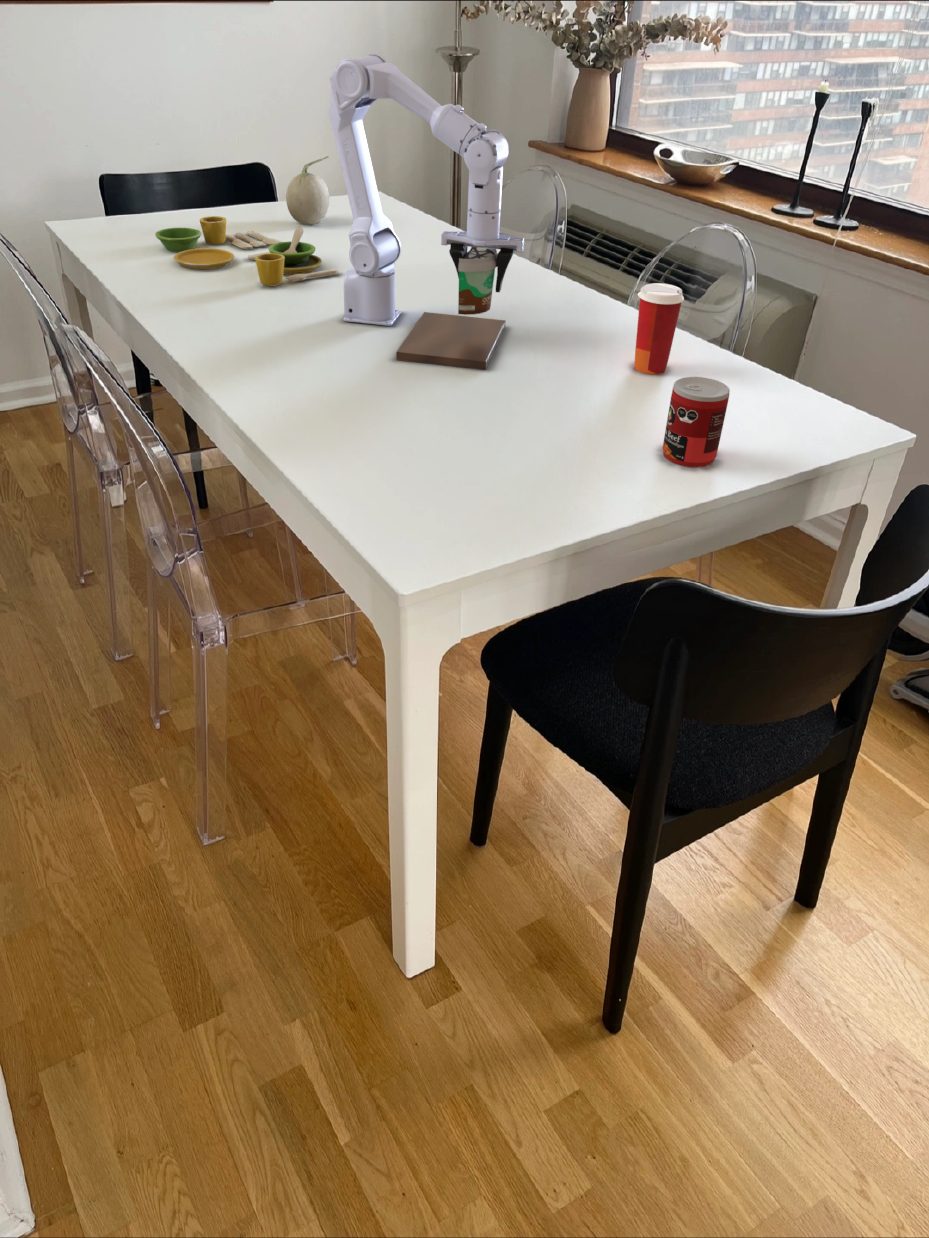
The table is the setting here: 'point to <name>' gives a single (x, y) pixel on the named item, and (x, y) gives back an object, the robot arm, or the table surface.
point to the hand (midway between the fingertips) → (480, 289)
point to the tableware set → (269, 264)
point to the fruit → (307, 197)
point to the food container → (476, 280)
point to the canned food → (695, 421)
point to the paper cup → (656, 326)
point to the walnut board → (452, 340)
